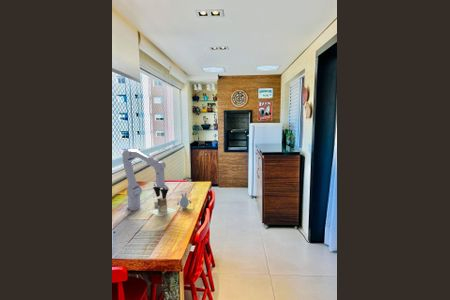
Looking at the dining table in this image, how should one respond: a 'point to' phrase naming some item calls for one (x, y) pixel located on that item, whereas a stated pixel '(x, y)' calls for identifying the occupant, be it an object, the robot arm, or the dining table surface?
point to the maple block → (162, 208)
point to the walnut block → (162, 202)
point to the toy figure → (184, 202)
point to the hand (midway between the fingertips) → (161, 197)
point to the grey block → (156, 204)
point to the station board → (169, 210)
